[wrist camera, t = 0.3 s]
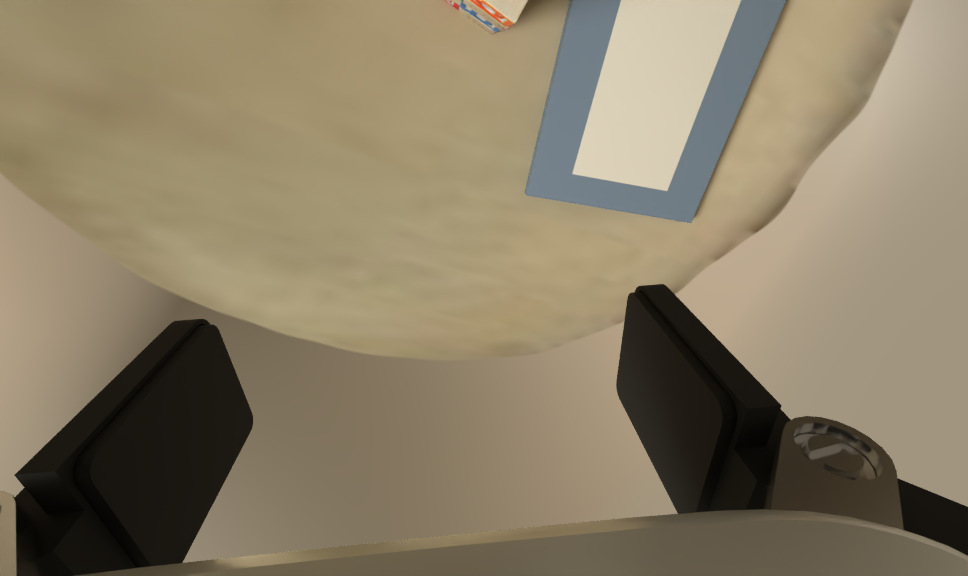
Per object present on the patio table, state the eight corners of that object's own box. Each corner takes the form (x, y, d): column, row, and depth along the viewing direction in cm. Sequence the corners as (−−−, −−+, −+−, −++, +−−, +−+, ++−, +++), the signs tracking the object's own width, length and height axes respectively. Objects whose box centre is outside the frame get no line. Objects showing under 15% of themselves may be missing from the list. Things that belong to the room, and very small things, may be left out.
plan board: (641, -304, 25) (649, -318, 25) (869, -219, 28) (884, -229, 27) (524, 192, 39) (526, 195, 38) (685, 219, 41) (691, 223, 41)
